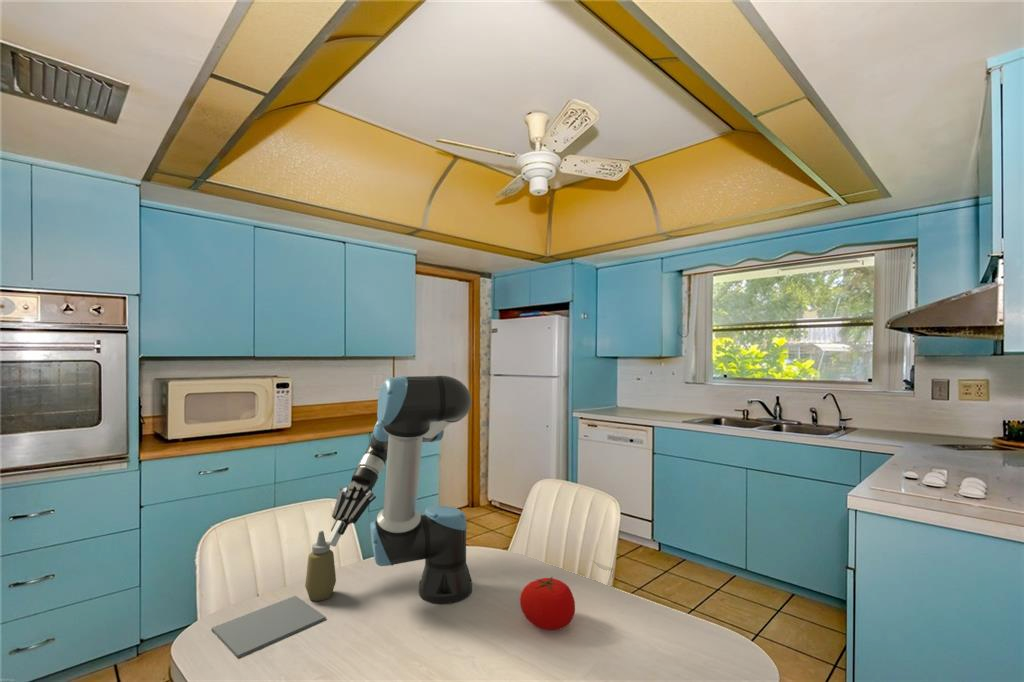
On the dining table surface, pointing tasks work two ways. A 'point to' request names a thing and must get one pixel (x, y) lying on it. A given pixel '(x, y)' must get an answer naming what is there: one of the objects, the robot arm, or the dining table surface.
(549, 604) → the tomato
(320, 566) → the squeeze bottle
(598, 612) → the dining table surface
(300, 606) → the rubber mat
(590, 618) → the dining table surface
